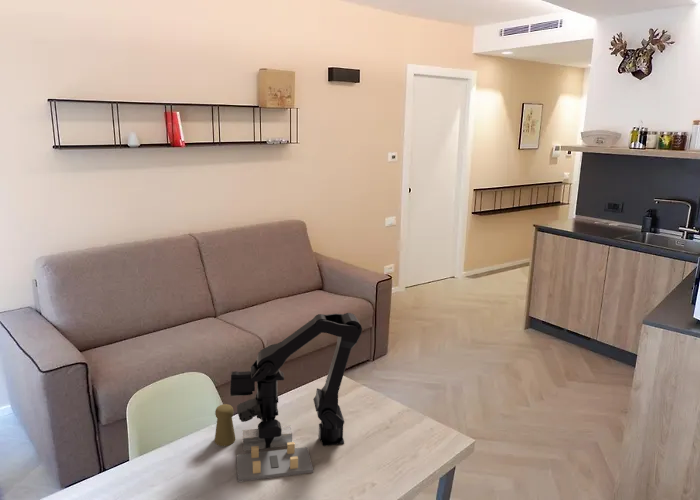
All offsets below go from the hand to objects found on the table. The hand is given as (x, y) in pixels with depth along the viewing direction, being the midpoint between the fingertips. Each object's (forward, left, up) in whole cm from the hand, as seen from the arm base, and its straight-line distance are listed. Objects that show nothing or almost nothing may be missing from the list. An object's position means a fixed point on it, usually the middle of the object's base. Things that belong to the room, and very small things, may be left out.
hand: (267, 440), depth 154 cm
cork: (+12, -4, -1) cm, 13 cm away
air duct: (0, 0, -1) cm, 1 cm away
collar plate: (-1, +10, -1) cm, 10 cm away
